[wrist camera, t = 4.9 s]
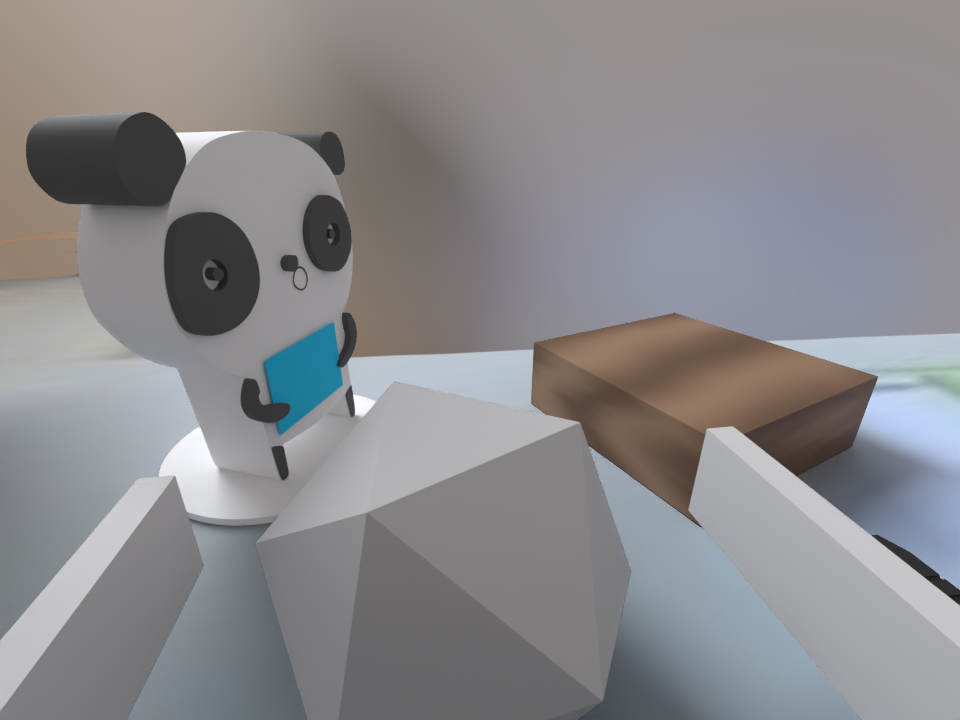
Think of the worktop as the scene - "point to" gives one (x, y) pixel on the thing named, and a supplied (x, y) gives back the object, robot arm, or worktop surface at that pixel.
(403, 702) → the die
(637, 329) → the plinth
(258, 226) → the panda figurine
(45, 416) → the worktop surface
